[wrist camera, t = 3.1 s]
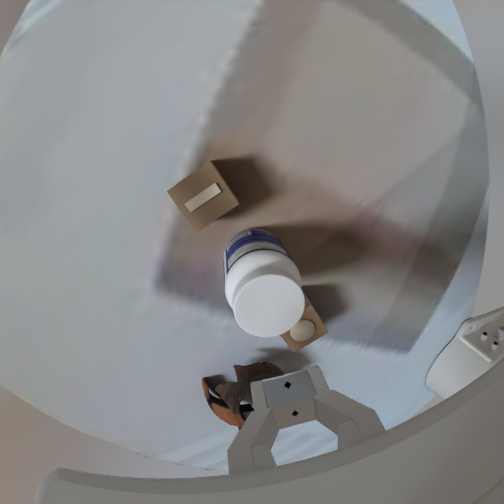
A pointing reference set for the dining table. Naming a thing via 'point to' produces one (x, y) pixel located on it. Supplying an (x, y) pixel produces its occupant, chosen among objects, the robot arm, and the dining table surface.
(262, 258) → the pill bottle
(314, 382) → the robot arm
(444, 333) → the dining table surface
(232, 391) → the pottery mug
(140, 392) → the dining table surface
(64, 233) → the dining table surface
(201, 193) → the walnut block bar
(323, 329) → the walnut block dot
